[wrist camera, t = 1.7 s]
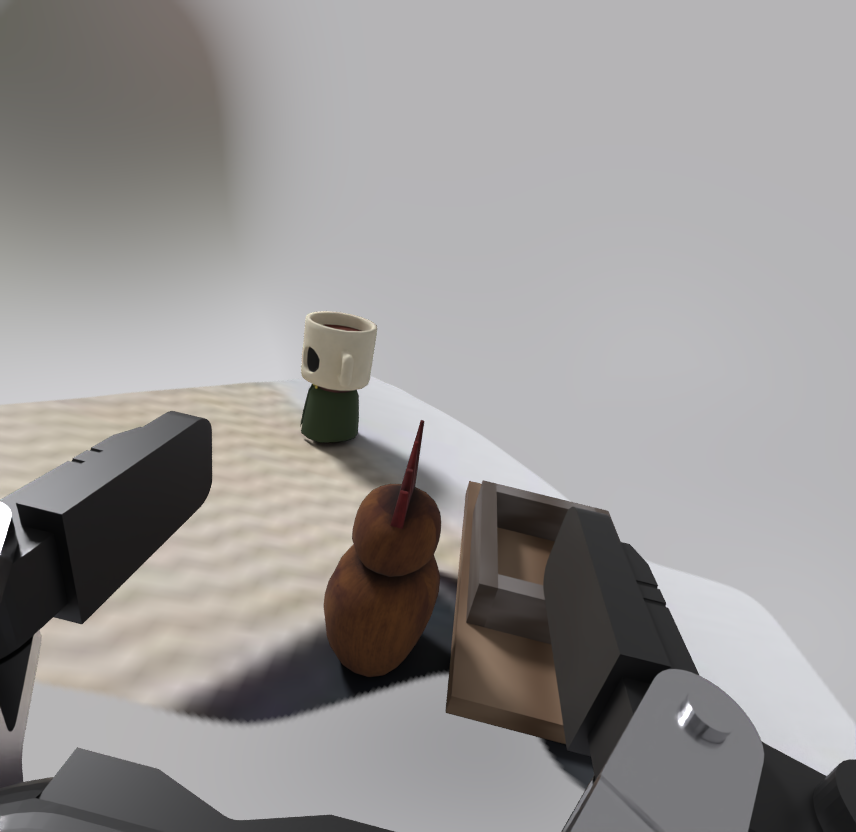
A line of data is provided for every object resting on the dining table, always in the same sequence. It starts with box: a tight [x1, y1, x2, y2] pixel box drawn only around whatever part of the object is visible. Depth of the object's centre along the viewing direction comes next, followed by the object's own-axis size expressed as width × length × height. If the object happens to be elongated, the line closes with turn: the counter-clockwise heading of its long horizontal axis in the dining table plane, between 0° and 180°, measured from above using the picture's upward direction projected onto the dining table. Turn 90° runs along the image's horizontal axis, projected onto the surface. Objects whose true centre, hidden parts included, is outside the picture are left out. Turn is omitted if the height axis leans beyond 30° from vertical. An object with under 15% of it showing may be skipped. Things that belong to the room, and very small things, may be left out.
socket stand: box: [446, 481, 620, 744], centre depth 34 cm, size 12×22×5 cm, turn 172°
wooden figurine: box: [324, 420, 441, 677], centre depth 25 cm, size 7×6×15 cm
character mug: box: [300, 311, 377, 442], centre depth 47 cm, size 11×7×13 cm, turn 19°
